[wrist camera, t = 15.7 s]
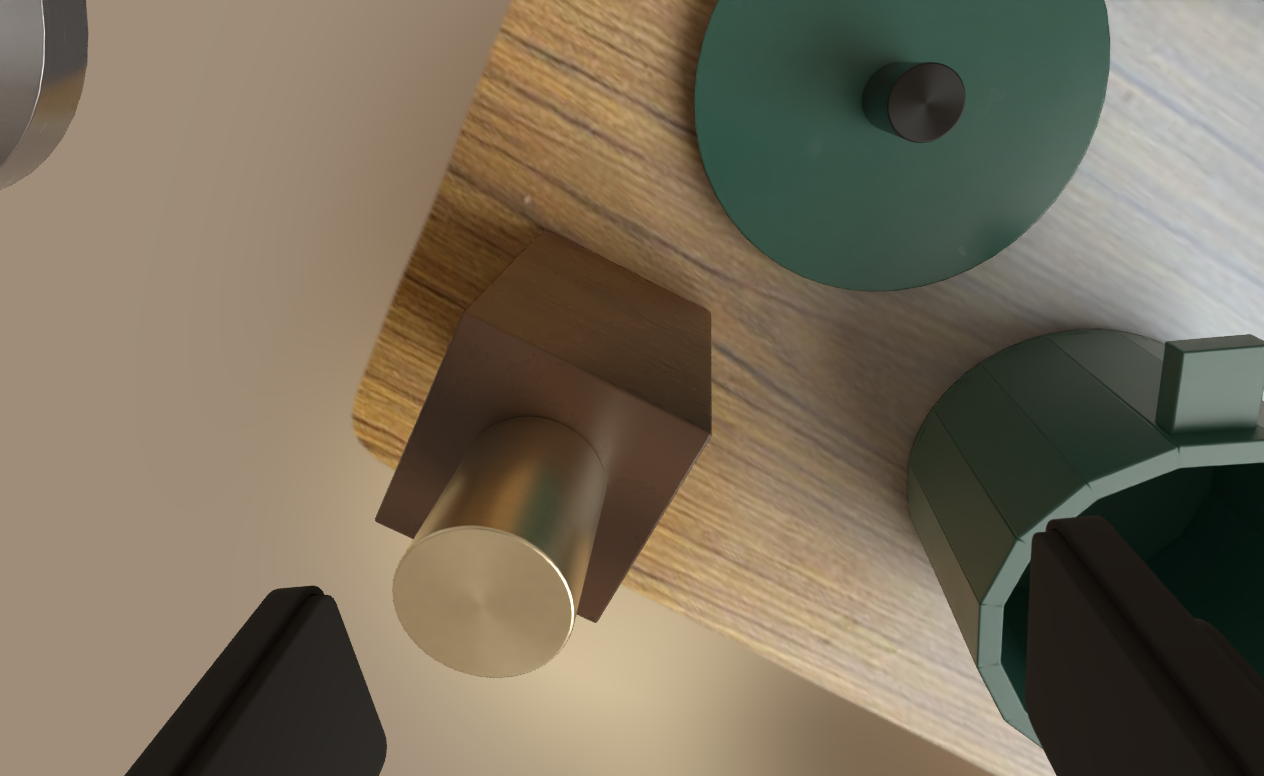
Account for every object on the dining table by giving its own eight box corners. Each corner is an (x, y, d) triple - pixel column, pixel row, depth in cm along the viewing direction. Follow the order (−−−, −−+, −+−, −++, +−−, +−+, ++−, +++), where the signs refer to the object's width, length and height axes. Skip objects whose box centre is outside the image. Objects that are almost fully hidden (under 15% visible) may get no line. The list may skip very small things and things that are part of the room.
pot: (906, 645, 40) (969, 834, 30) (906, 283, 32) (989, 377, 23) (1196, 634, 38) (1363, 831, 28) (1264, 247, 31) (1518, 333, 21)
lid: (712, 301, 34) (713, 345, 28) (674, -94, 28) (666, -130, 23) (1078, 264, 32) (1151, 304, 26) (1115, -170, 26) (1217, -227, 21)
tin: (480, 545, 25) (415, 682, 19) (450, 421, 23) (370, 533, 18) (615, 537, 24) (587, 676, 19) (594, 409, 23) (557, 521, 17)
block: (630, 455, 37) (596, 624, 26) (476, 380, 36) (373, 522, 25) (712, 312, 34) (712, 434, 23) (545, 227, 33) (462, 310, 22)
